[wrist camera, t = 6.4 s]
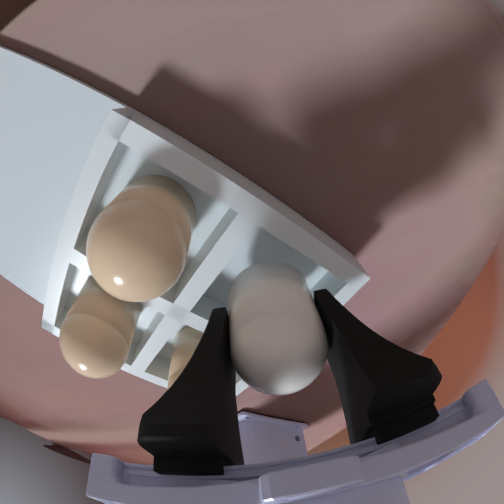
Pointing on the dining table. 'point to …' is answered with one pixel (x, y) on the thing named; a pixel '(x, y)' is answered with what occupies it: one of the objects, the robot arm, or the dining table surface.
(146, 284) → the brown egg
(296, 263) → the egg carton
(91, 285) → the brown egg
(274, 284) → the white egg
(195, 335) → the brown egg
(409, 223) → the dining table surface
